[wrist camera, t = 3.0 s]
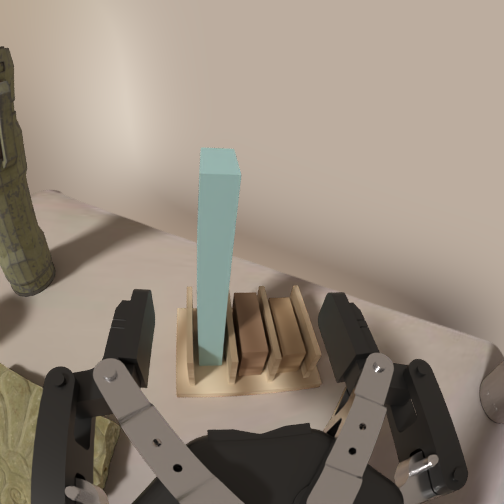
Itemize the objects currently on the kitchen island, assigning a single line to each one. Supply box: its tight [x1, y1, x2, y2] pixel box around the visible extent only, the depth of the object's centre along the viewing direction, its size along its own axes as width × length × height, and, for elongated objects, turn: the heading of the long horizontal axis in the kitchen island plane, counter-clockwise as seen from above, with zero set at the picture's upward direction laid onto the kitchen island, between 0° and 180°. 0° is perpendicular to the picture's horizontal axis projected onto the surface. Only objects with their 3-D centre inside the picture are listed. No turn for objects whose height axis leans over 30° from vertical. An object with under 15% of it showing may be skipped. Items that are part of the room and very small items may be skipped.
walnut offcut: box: [232, 293, 268, 376], centre depth 32 cm, size 2×8×5 cm, turn 8°
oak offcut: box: [268, 297, 306, 373], centre depth 33 cm, size 2×8×4 cm, turn 8°
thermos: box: [0, 47, 55, 297], centre depth 26 cm, size 9×12×35 cm
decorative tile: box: [0, 363, 121, 504], centre depth 15 cm, size 19×20×4 cm
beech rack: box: [176, 285, 322, 397], centre depth 32 cm, size 16×12×6 cm
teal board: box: [197, 148, 241, 366], centre depth 26 cm, size 2×5×22 cm, turn 8°
